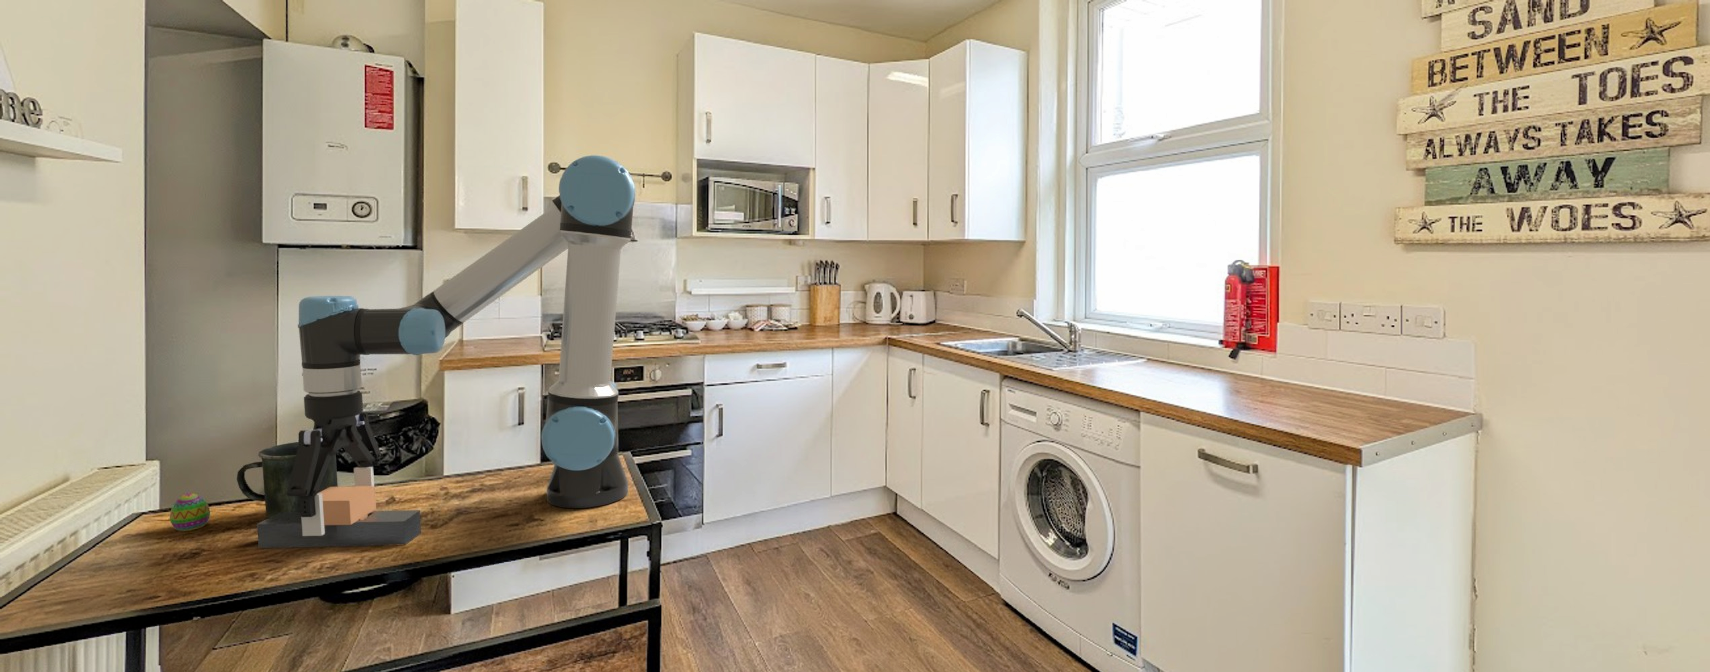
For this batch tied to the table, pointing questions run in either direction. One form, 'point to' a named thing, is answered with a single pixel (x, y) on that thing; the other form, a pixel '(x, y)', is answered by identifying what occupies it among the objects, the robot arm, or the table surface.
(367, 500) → the tan block with tab
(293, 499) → the mug
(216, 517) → the table surface
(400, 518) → the rail
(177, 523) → the egg
